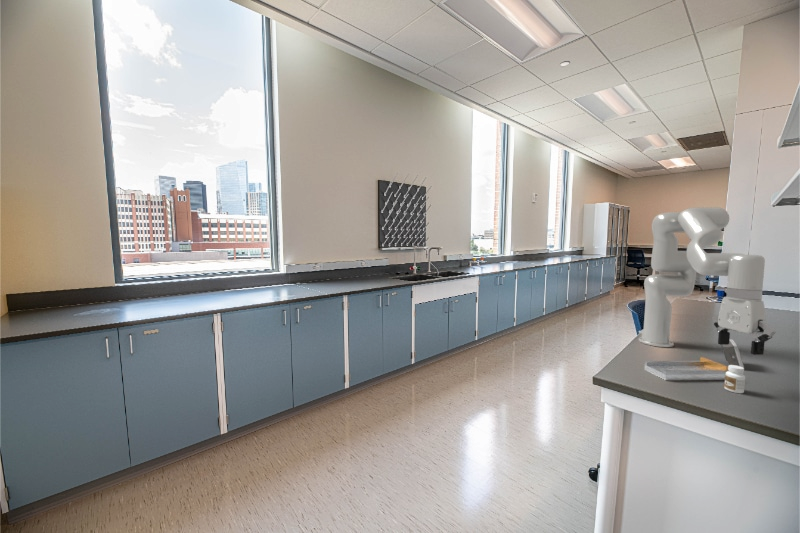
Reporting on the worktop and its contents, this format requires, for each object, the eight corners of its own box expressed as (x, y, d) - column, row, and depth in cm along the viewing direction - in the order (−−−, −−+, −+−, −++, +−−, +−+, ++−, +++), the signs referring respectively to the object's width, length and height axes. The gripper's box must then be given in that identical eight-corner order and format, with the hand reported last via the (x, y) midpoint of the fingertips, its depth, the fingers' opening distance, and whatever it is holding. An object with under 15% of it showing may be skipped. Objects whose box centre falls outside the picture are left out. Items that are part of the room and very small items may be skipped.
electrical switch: (744, 370, 118) (743, 345, 118) (724, 368, 122) (723, 343, 121) (739, 363, 126) (738, 339, 125) (721, 361, 129) (719, 338, 129)
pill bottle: (720, 387, 105) (722, 363, 104) (735, 387, 105) (737, 364, 104) (732, 393, 101) (734, 369, 100) (748, 394, 100) (750, 369, 100)
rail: (644, 369, 119) (645, 357, 118) (702, 369, 119) (703, 357, 119) (665, 380, 110) (666, 367, 109) (727, 379, 111) (729, 366, 110)
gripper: (704, 290, 109) (701, 340, 110) (764, 299, 91) (759, 358, 92) (726, 290, 109) (722, 340, 110) (789, 299, 92) (784, 358, 93)
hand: (739, 349), depth 101 cm, fingers open, 9 cm apart
